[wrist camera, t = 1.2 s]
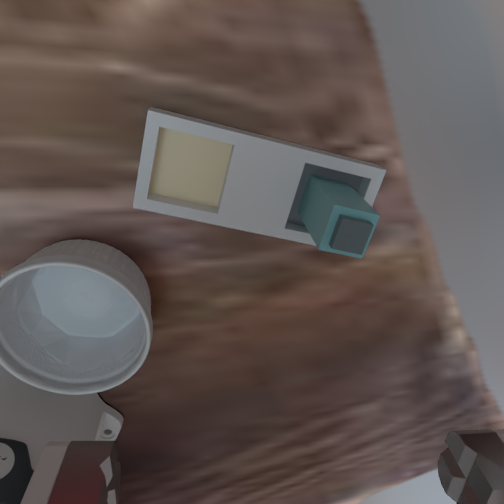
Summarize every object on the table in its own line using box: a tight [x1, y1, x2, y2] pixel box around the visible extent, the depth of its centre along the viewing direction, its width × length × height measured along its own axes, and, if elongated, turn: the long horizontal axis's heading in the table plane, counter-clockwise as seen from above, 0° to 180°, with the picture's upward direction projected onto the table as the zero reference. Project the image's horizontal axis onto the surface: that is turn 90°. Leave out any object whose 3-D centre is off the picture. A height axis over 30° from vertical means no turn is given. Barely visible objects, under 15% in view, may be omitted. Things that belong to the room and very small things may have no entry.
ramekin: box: [0, 239, 153, 395], centre depth 38 cm, size 13×13×7 cm
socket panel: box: [133, 107, 386, 246], centre depth 37 cm, size 8×20×2 cm, turn 75°
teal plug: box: [298, 174, 380, 259], centre depth 35 cm, size 4×4×9 cm
